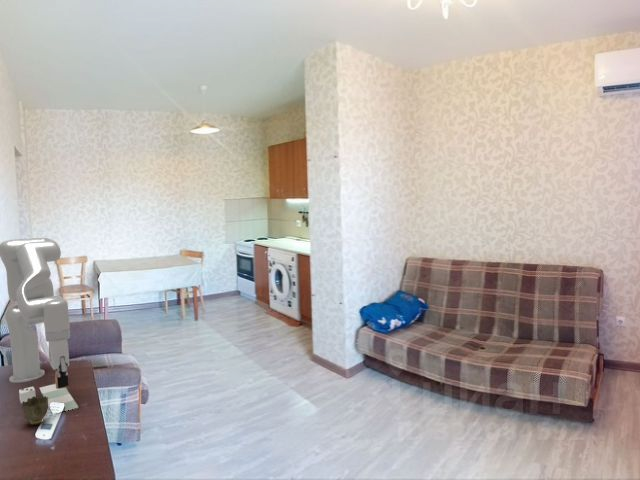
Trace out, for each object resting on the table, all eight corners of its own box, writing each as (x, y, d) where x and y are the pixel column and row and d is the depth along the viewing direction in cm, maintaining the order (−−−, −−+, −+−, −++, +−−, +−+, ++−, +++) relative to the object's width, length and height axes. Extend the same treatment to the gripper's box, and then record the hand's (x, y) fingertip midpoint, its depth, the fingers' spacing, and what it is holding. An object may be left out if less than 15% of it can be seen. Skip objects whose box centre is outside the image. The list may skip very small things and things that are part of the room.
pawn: (55, 386, 156) (53, 368, 156) (67, 383, 159) (66, 365, 158) (56, 389, 153) (55, 371, 153) (69, 386, 156) (68, 368, 155)
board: (39, 388, 174) (39, 387, 174) (62, 382, 179) (62, 382, 179) (52, 415, 151) (52, 414, 151) (78, 407, 156) (78, 407, 156)
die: (19, 401, 163) (18, 388, 163) (34, 397, 166) (33, 385, 166) (21, 405, 160) (20, 392, 159) (36, 401, 163) (34, 388, 162)
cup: (37, 429, 142) (34, 406, 141) (17, 428, 143) (15, 404, 142) (55, 418, 149) (53, 395, 148) (36, 417, 150) (34, 394, 150)
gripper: (41, 332, 158) (46, 381, 160) (49, 342, 146) (54, 395, 147) (65, 327, 163) (69, 375, 165) (75, 337, 150) (79, 389, 152)
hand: (62, 384), depth 156 cm, fingers closed on pawn, 4 cm apart
